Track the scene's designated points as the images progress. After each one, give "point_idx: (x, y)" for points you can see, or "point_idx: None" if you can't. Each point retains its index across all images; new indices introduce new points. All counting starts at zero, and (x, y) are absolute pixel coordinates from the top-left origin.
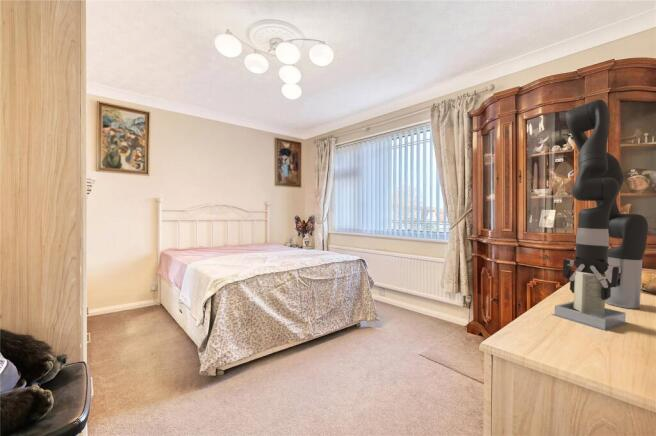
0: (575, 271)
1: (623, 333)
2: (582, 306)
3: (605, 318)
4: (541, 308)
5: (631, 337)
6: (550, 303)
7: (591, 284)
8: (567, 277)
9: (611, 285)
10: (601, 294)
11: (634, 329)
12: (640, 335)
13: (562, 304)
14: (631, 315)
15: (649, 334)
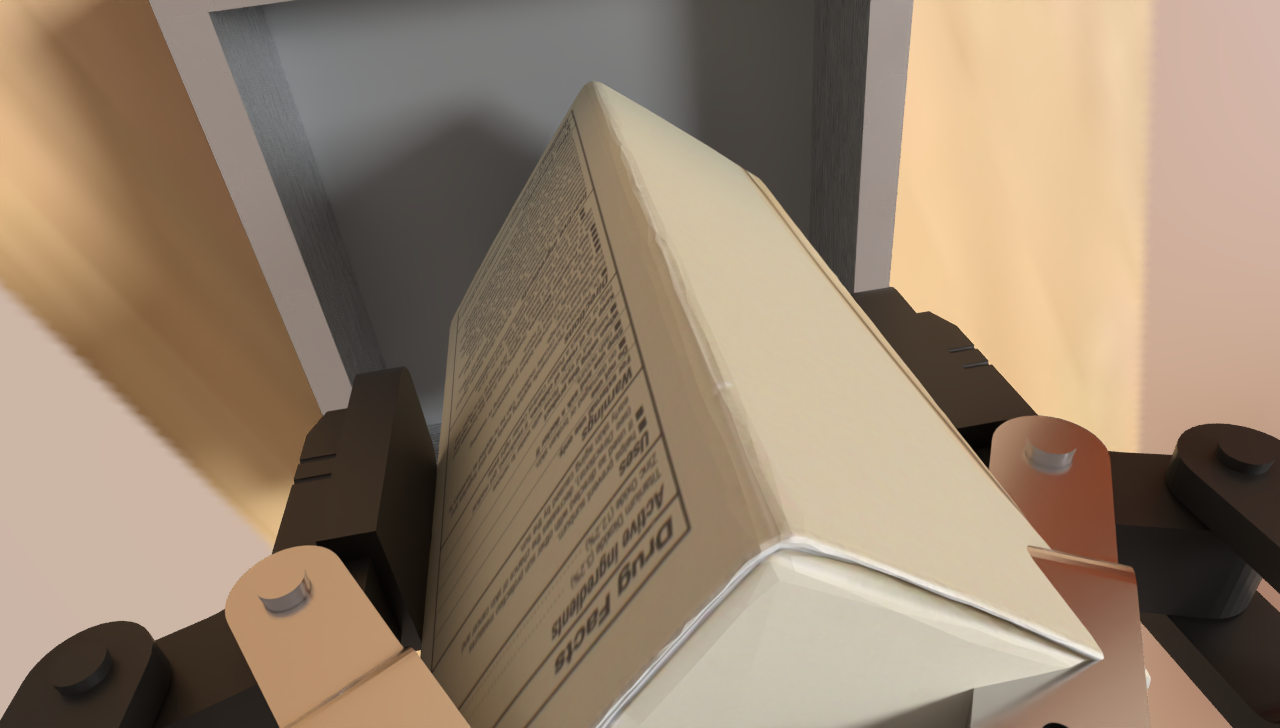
0: (1125, 653)
1: (174, 172)
2: (592, 108)
3: (181, 24)
4: (1094, 77)
5: (41, 122)
6: (1084, 364)
7: (556, 467)
8: (1166, 473)
9: (141, 648)
10: (457, 469)
11: (278, 411)
12: (109, 295)
13: (885, 84)
14: None
15: (138, 409)
